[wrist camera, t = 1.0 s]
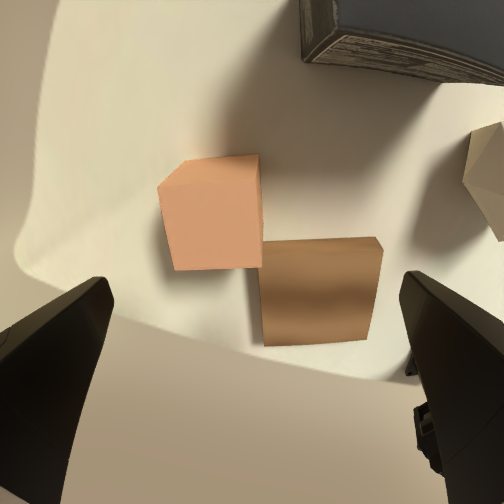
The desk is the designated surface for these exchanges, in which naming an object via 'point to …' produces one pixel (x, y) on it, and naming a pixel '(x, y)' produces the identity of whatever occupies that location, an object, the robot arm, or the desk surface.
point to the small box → (408, 37)
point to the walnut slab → (318, 290)
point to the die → (487, 174)
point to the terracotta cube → (214, 213)
